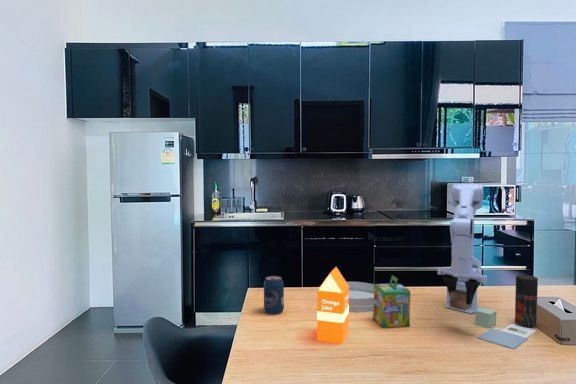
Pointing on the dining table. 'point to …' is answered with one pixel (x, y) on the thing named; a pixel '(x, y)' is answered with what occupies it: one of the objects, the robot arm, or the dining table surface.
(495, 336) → the baseplate
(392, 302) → the chalk box
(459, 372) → the dining table surface
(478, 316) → the block sage
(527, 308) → the deodorant
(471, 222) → the robot arm
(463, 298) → the block walnut
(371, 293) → the dish
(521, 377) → the dining table surface
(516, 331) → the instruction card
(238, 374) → the dining table surface
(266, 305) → the soda can
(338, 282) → the orange juice
